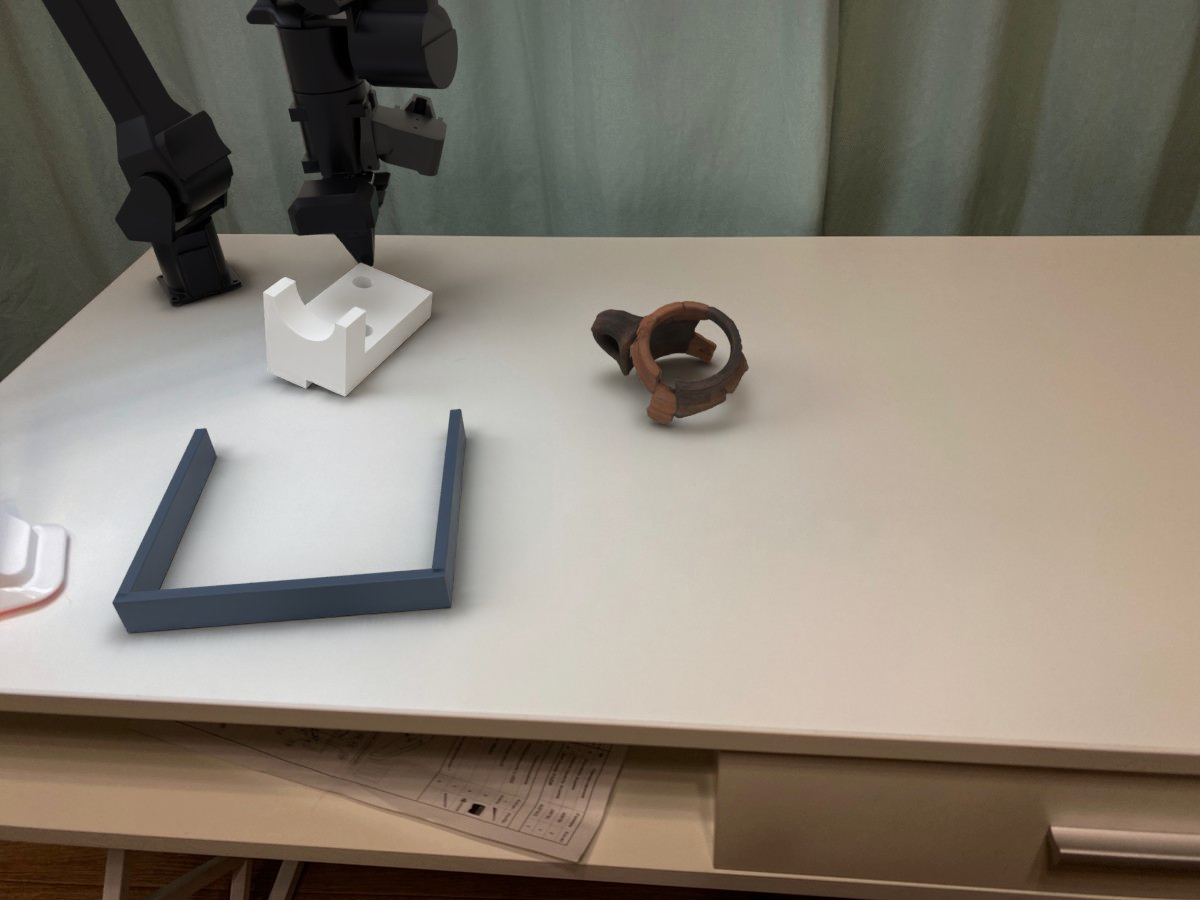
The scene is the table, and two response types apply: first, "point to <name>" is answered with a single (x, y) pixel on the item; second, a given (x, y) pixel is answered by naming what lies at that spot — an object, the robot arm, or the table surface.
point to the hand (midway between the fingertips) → (367, 265)
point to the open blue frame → (283, 598)
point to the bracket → (340, 327)
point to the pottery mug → (666, 335)
